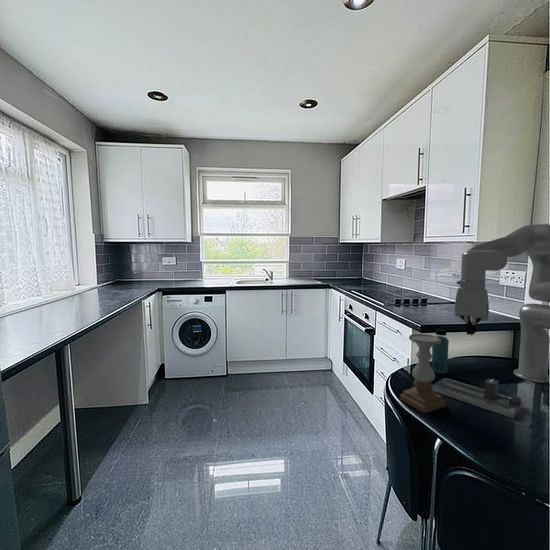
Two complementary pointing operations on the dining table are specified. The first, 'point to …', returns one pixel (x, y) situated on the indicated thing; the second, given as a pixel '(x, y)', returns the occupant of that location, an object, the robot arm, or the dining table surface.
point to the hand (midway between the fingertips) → (470, 333)
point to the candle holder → (423, 377)
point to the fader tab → (491, 389)
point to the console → (479, 397)
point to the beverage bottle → (440, 353)
